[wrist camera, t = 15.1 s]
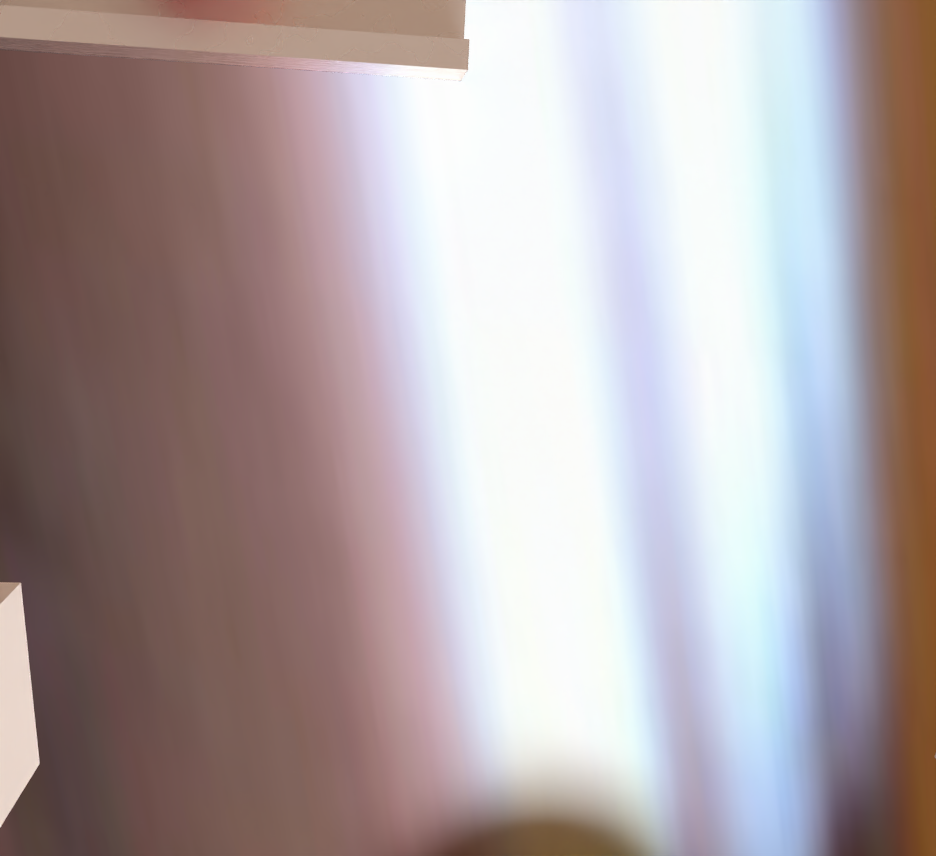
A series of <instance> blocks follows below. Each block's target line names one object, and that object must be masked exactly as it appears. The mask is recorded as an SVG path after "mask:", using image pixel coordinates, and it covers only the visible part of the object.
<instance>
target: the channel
mask: <svg viewBox="0 0 936 856" xmlns="http://www.w3.org/2000/svg"><path fill="white" fill-rule="evenodd" d="M465 3H466V0H0V49H5V50H19V51H34V52H48V53H63V54H77V55H92V56H106V57H121V58H135V59H150V60H164V61H178V62H193V63H207V64H222V65H236V66H251V67H265V68H280V69H294V70H309V71H323V72H337V73H352V74H366V75H381V76H395V77H410V78H424V79H439V80H453V81H461V80H462V78H463V77H464V75H465V73H466V72H467V70H468V54H469V39H464V24H465Z"/></svg>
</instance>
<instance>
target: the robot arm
mask: <svg viewBox="0 0 936 856" xmlns="http://www.w3.org/2000/svg"><path fill="white" fill-rule="evenodd" d="M935 758H936V754H935ZM39 764H40V763H39V754H38V744H37V734H36V725H35V715H34V705H33V696H32V686H31V677H30V667H29V657H28V648H27V638H26V628H25V619H24V609H23V600H22V590H21V583H5V582H0V827H1V825H2V824H3V822H4V820H5V819H6V817H7V815H8V814H9V812H10V811H11V809H12V807H13V806H14V804H15V802H16V801H17V799H18V798H19V796H20V794H21V793H22V791H23V790H24V788H25V786H26V785H27V783H28V781H29V780H30V778H31V777H32V775H33V773H34V772H35V770H36V768H37V767H38V765H39Z"/></svg>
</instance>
